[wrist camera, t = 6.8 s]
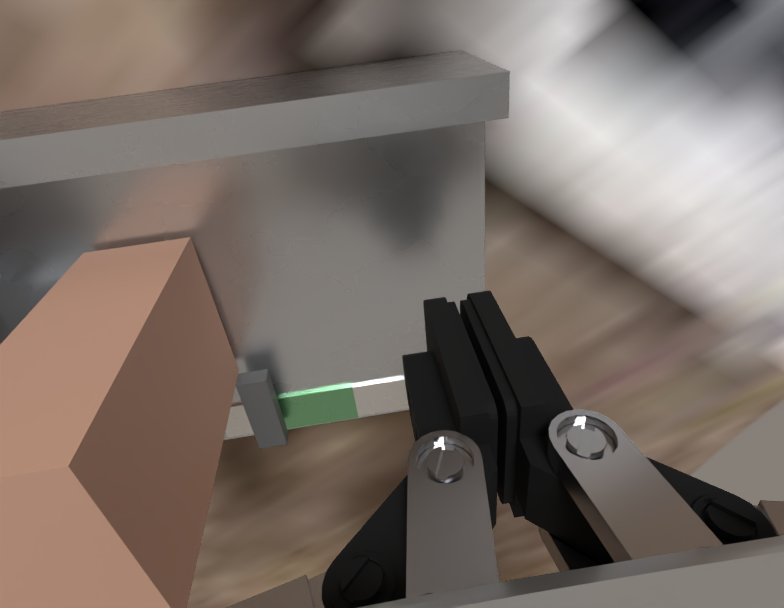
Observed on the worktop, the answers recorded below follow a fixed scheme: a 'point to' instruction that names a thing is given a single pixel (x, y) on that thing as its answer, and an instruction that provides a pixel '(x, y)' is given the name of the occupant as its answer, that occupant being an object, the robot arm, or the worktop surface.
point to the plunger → (117, 431)
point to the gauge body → (273, 212)
